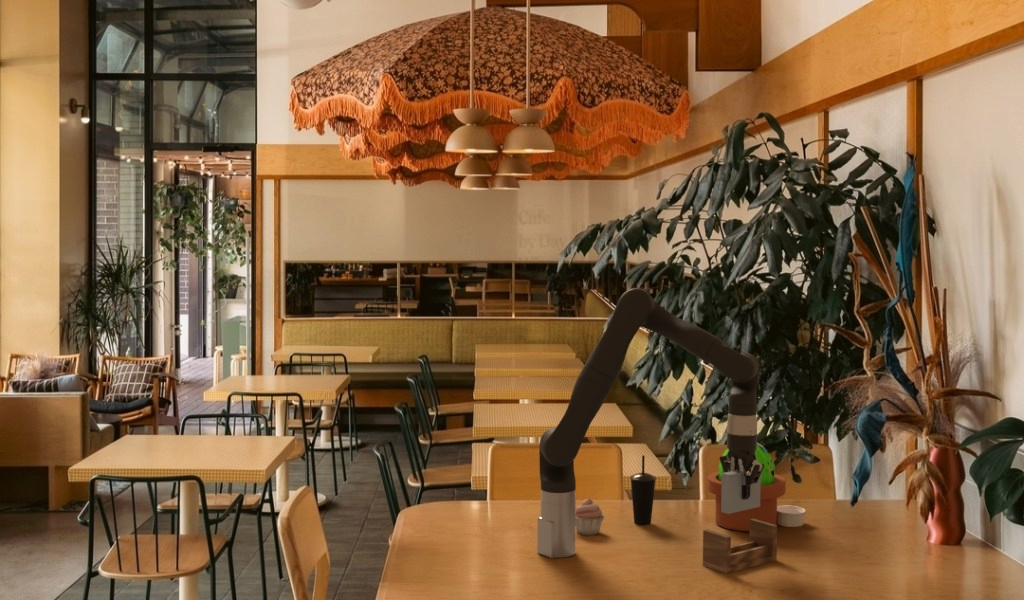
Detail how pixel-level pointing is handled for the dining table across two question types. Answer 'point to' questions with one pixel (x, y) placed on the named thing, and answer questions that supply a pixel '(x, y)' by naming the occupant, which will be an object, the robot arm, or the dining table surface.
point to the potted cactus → (769, 493)
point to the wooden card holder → (740, 548)
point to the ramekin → (790, 516)
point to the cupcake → (588, 518)
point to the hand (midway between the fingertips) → (741, 497)
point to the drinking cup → (642, 496)
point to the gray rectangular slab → (738, 493)
